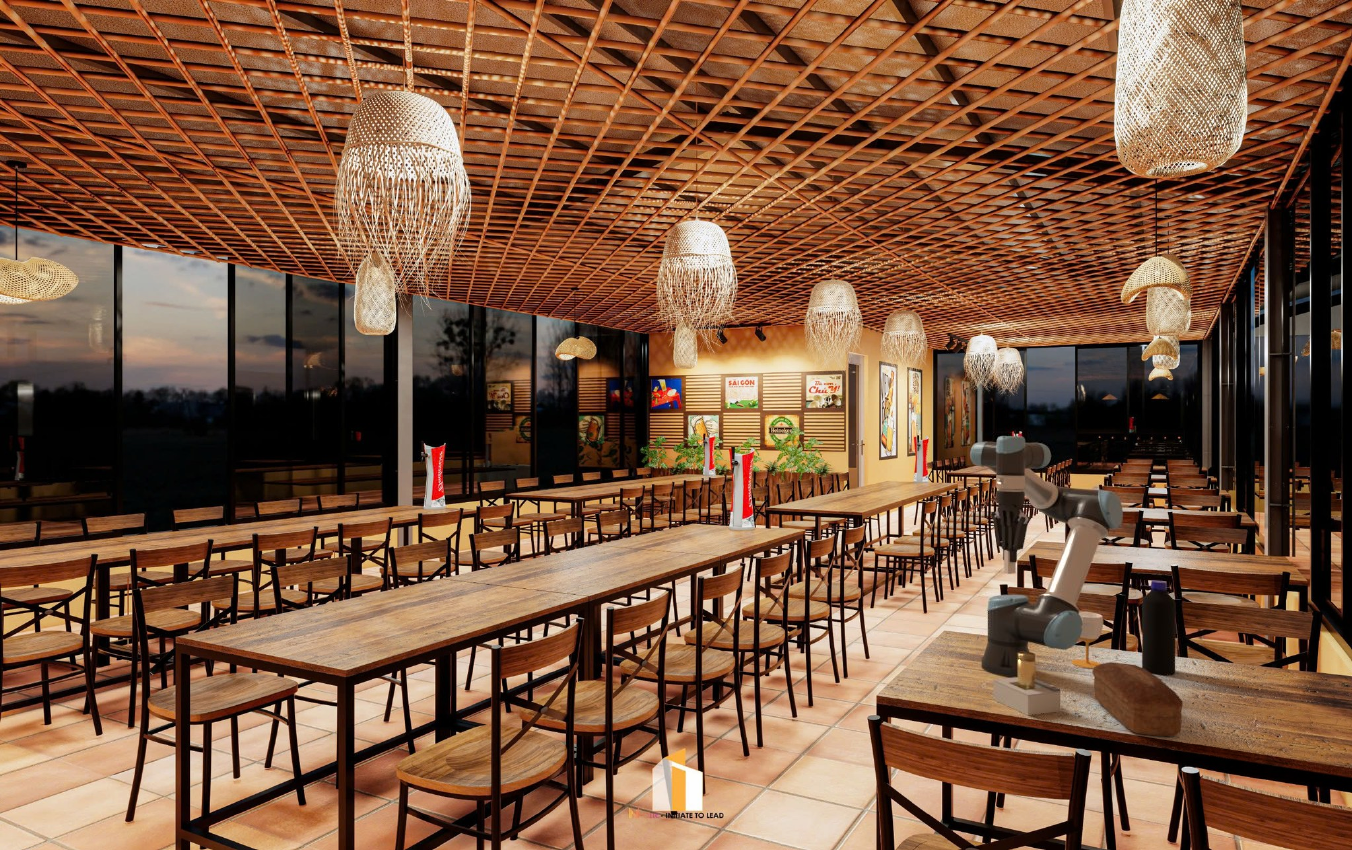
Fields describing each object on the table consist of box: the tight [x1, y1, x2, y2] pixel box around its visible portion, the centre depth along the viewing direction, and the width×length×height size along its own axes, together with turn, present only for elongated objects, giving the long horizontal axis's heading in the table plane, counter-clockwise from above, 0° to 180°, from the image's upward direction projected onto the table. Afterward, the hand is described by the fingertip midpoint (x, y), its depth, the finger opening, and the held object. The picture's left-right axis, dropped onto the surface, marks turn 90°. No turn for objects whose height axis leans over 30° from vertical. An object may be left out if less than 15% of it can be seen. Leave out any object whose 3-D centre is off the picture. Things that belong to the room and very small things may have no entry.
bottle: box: [1141, 580, 1177, 676], centre depth 242 cm, size 9×9×28 cm
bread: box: [1091, 661, 1184, 737], centre depth 202 cm, size 14×28×12 cm, turn 171°
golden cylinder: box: [1018, 651, 1036, 690], centre depth 210 cm, size 4×4×14 cm
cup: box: [1070, 611, 1104, 670], centre depth 248 cm, size 9×9×16 cm
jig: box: [992, 677, 1061, 716], centre depth 210 cm, size 11×13×6 cm
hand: (1009, 573), depth 220 cm, fingers closed
